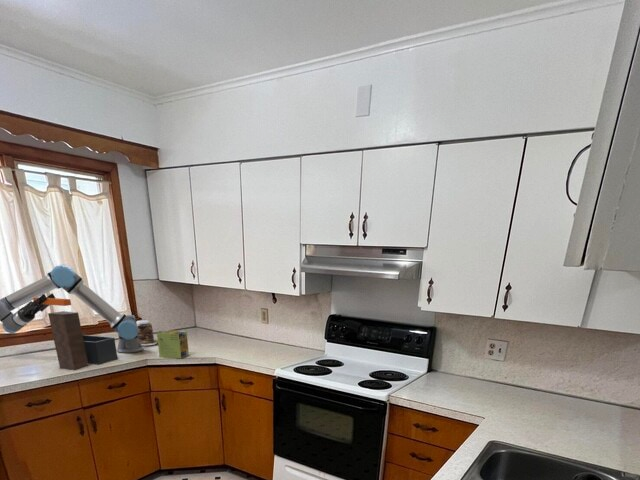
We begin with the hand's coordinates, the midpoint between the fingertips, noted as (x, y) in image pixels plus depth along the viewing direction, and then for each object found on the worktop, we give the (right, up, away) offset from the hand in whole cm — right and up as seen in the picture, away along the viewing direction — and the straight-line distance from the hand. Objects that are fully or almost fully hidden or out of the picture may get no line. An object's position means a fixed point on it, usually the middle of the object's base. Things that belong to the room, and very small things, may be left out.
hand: (49, 296), depth 228 cm
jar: (+16, -7, +83) cm, 85 cm away
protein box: (+51, -24, +46) cm, 73 cm away
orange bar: (+1, -4, +1) cm, 4 cm away
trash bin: (+7, -29, +30) cm, 42 cm away
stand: (+6, -36, +13) cm, 39 cm away
